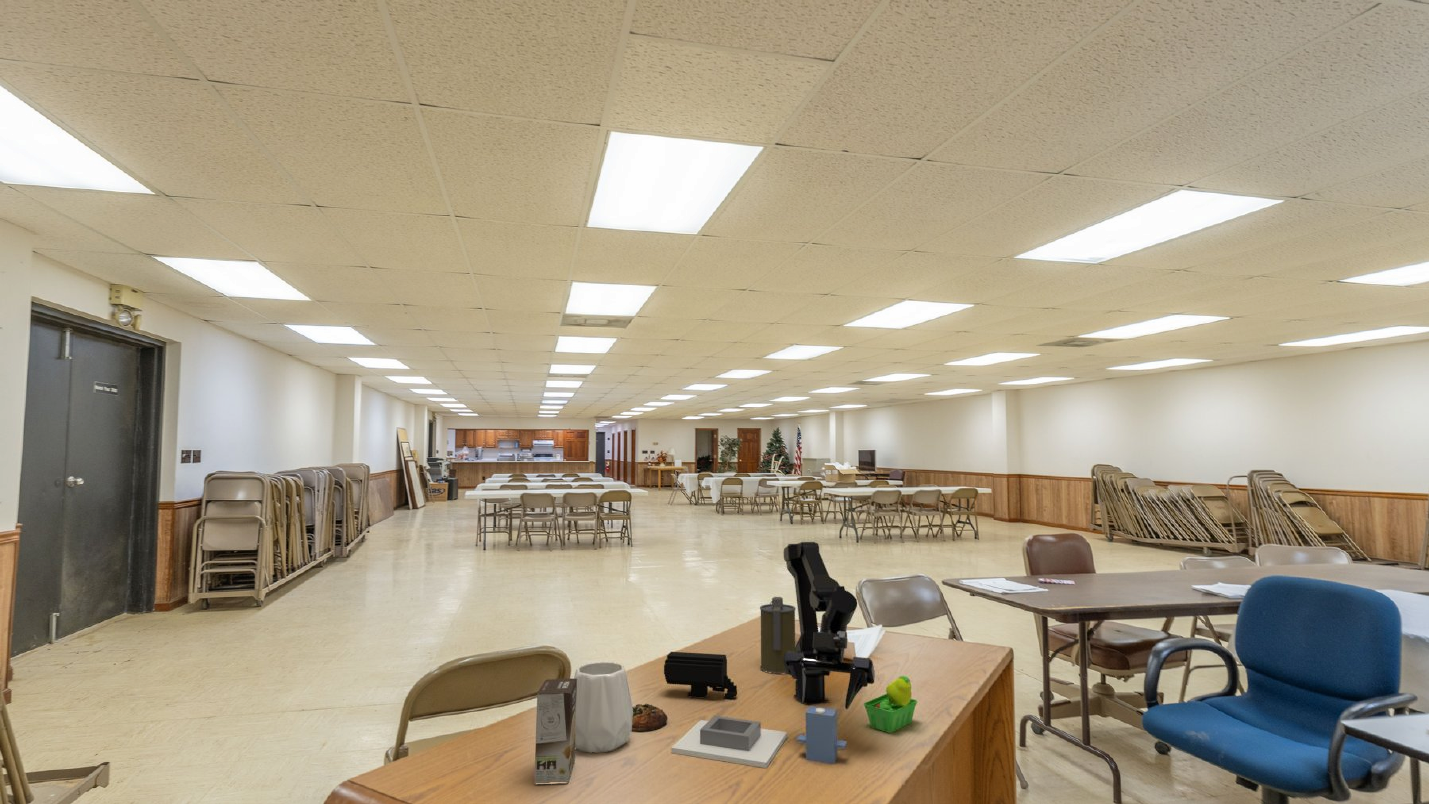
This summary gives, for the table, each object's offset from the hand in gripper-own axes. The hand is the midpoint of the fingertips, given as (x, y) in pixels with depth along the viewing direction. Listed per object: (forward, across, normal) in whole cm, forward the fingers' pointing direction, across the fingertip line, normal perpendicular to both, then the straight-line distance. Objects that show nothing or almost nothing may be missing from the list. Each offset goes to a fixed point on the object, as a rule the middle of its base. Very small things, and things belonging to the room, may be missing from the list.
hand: (823, 705), depth 134 cm
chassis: (+8, -19, +5) cm, 21 cm away
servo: (+8, 0, +5) cm, 10 cm away
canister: (-31, -24, +44) cm, 59 cm away
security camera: (-10, -36, +23) cm, 44 cm away
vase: (+14, -46, -1) cm, 48 cm away
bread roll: (+5, -42, +9) cm, 43 cm away
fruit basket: (-8, +12, +21) cm, 25 cm away
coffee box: (+26, -46, -12) cm, 54 cm away
